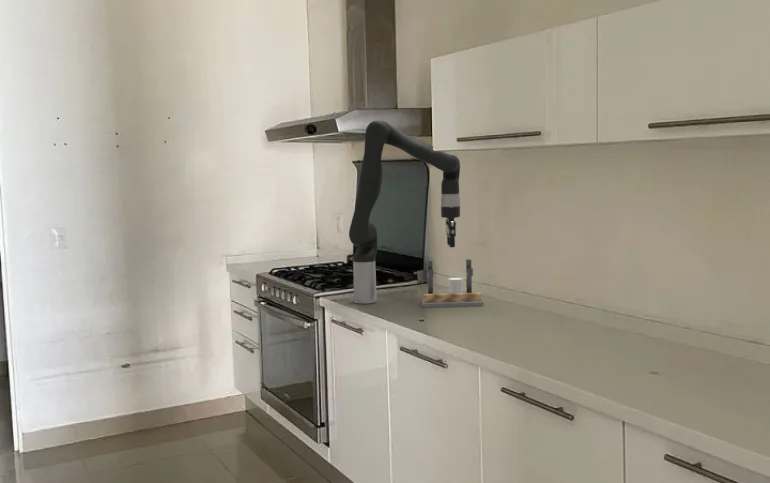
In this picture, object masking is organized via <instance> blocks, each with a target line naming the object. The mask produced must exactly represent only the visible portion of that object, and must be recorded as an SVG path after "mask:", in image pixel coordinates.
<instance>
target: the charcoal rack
mask: <svg viewBox="0 0 770 483" xmlns="http://www.w3.org/2000/svg"><path fill="white" fill-rule="evenodd" d="M426 263H427V267H426V268H427V269H426V270H427V294H434V285H433V284H434V283H433V282H434V280H433V278H434V269H433V260H426ZM473 271H474V269H473V268H472V258H471V259H469V258H468V259H465V273H466V274H465V279H466V280H465V282H466V283H465V284H466V286H465V288H466V292H465V293H473V292H472V291H473V287H472V286H473V284H472V280H473V279H472V277H473V276H474V272H473Z"/></svg>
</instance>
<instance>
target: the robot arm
mask: <svg viewBox="0 0 770 483" xmlns="http://www.w3.org/2000/svg"><path fill="white" fill-rule="evenodd" d="M364 135H365V136H364V150H363V151H364V152H363V156H362V157H363V158H362V163H361V167H360V168H361V170H360V172H359V173H360V174H359V179H358V187H357V192H356V198H355V205H354V210H353V215H352V219H351V222H350V226H349V231H348V236H349V240H350V242H351V244H352V245H354V246H357V249H356V250H355V252H354V253H353V256H352V266H353V270H352V271H353V303H354V304H362V305H364V304H365V305H366V304H373V303H377V275H376V274H377V273H376V271H377V268H376V257H377V256H376V255H377V254H378V253H377V252H378V231H377V228H376V226H375V225H374V224H373V223H372V222H370V216H371V213H372V211H373V209H374V207H375V205H376V202H377V200H378V198H379V197H380V193H381V189H382V184H383V183H382V181H383V166H382V165H383V164H382V158H383V157H382V155H383V150H384V145H388V146H392V147H395V148H397V149H399V150H402V151H403V152H405V153H406V154H408V155H409V156H411V157H412V158H414V159H417V160H418V161H421V162H423V163H426V164H428V165H431V166H433V167H435V168H436V169H439V170H440V171H441V172H442V181H441V182H440V184H441V185H440V186H441V190H440V192H441V197H440V217H441V218H443V219H444V218H445V224H444V225H445V233H446V234H445V235H446V241H447V242H446V244H447V245H448V247H449V248H455V247H456V236H457V234H456V232H457V222H456V221H455V218H456V219H457V218H460V217H461V198H460V184H459V182H460V172H461V163H460V159H459V158H458V157H457V155H455V154H450V153H446V152H445V151H441V150H440V151H434V150H433V147H434V146H433V145H431V144H429V143H426V142H424V141H421V140H420V139H417V138H415V137H412V136H409V135H408V134H405V133H404V132H401V131H400V130H398V129H397V128H395V127H394V126H392V125H391V124H389V123H388V122H386V121H384V120H373V121H371V122H370V123H369V124H367V126H366V128H365V134H364Z"/></svg>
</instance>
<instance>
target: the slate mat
mask: <svg viewBox="0 0 770 483" xmlns="http://www.w3.org/2000/svg"><path fill="white" fill-rule="evenodd" d="M469 306H471V307H484V302H483V300H482V299H481V301H473V302H436V303H423V299H422V300H421V307H422V308H423V309H424V308H425V309H427V308H428V309H429V308H430V309H431V308H432V309H433V308H461V307H462V308H463V307H464V308H466V307H467V308H470V307H469Z"/></svg>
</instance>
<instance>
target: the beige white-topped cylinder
mask: <svg viewBox="0 0 770 483" xmlns="http://www.w3.org/2000/svg"><path fill="white" fill-rule="evenodd" d="M464 280H465V279H464V278H463V277H449V278H448V279H447V282H448V293H464Z"/></svg>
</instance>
